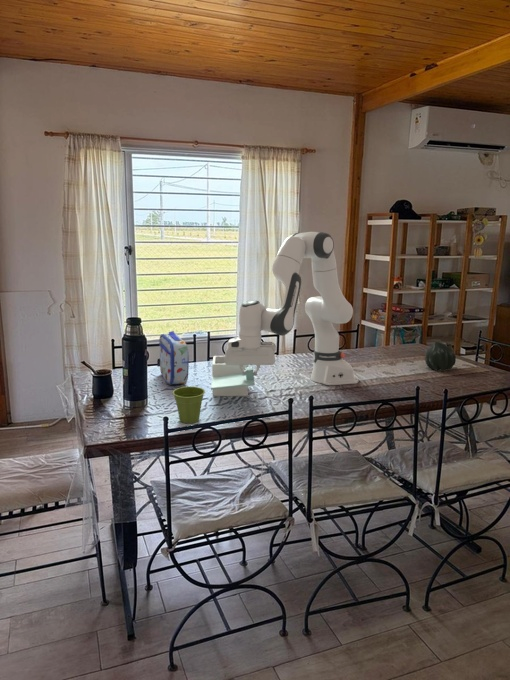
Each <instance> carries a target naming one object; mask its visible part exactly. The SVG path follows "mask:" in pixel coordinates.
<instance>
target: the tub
mask: <svg viewBox="0 0 510 680" xmlns="http://www.w3.org/2000/svg"><path fill="white" fill-rule="evenodd" d="M222 363H225V355H213V358H212V365H211V368H212V371H211V372H212V373H211V375H212V377H211V379H212V378H213V377H215V376H224V375H234V374H242V371H241V369H240V367H239V365H226V364H222ZM245 367H249V365H243V367H242V368H243V370H246V369H245ZM248 387H249V386H243V387H234V388H224V389H214V390H212V397H248V396H249V388H248Z"/></svg>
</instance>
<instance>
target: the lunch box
mask: <svg viewBox="0 0 510 680" xmlns="http://www.w3.org/2000/svg"><path fill="white" fill-rule="evenodd" d="M158 341H159V342H158V344H159V358H157V362H156V364H157V367H158V368H159V367H160V368H159V369H160V374H161V376H162V377H163V379H164V381H165V382H166V383H167V384H168V385H181V384H186V383H187V382H188V379H189V367H190V365H189V364H190V359H189V357H190V355H189V349H188V345H187V343H186V341H185V340H183V339H182V337H180V336H179V335H178V334H177V333H175V331H174V330H172V331H168V333H163V334H160V336H159V340H158Z"/></svg>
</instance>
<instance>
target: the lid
mask: <svg viewBox="0 0 510 680" xmlns="http://www.w3.org/2000/svg"><path fill="white" fill-rule="evenodd" d="M245 369H246V375H242V374H234V375H224V376H215V377H213V378H212V377H211V385H210V389H211V391H213V390H214V389H224V388H234V387H243V386H248V387H250V386H251V387H252V386H256V384H255V375H254V374H253V373H254V368H253V366H248V367H245Z"/></svg>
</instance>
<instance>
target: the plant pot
mask: <svg viewBox="0 0 510 680" xmlns="http://www.w3.org/2000/svg"><path fill="white" fill-rule="evenodd" d="M205 393H206V390H205V389H204V388H202V387H200V386H199V387H198V386H181V387H178V388H175V389H174V390H173V391H172V395H173V396H174V400H175V402H176V409H177V412H178V418H179V422H180V423H183V424H188V423H189V424H193V423H197V422H198V421H200V416H201V409H202V403H203V398H204V394H205Z"/></svg>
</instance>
